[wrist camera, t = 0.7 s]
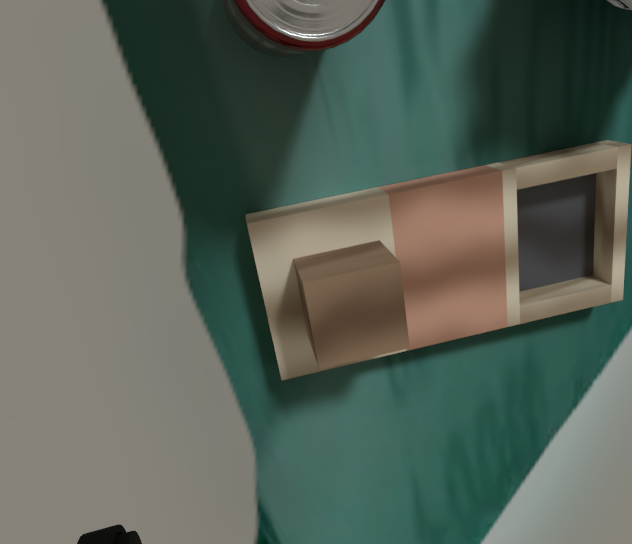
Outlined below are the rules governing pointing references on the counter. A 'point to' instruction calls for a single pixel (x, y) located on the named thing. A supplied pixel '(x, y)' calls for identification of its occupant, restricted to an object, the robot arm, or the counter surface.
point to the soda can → (299, 23)
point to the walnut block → (352, 303)
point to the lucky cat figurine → (622, 3)
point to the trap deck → (462, 245)
